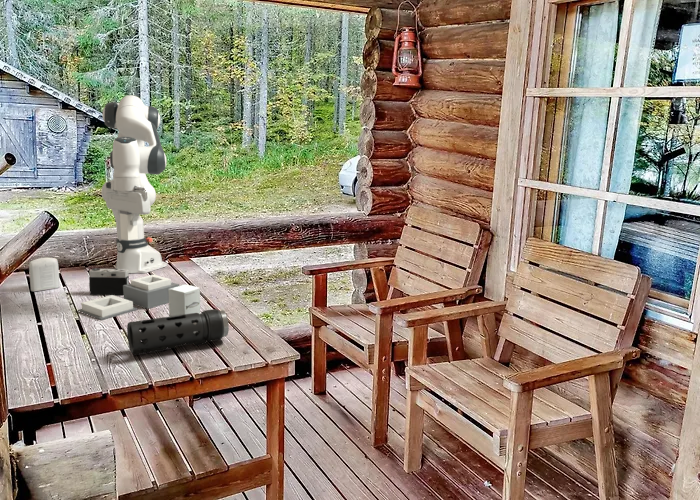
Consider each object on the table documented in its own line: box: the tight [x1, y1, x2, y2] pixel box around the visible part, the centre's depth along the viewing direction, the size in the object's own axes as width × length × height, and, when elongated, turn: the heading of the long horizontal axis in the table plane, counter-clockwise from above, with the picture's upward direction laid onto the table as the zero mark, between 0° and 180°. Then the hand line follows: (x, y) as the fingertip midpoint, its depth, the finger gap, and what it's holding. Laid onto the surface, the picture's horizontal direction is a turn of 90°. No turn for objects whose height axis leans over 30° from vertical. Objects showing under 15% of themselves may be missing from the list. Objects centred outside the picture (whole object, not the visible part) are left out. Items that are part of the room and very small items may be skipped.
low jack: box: [77, 295, 138, 321], centre depth 206 cm, size 14×14×3 cm
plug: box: [120, 210, 138, 240], centre depth 207 cm, size 4×4×10 cm
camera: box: [88, 267, 130, 296], centre depth 226 cm, size 14×9×10 cm, turn 88°
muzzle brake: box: [126, 308, 230, 356], centre depth 176 cm, size 10×28×10 cm, turn 121°
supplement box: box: [168, 283, 201, 317], centre depth 195 cm, size 7×7×13 cm
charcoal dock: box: [123, 274, 180, 310], centre depth 218 cm, size 14×14×8 cm
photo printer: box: [28, 257, 60, 292], centre depth 227 cm, size 10×4×12 cm, turn 134°
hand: (128, 224), depth 207 cm, fingers closed on plug, 4 cm apart
